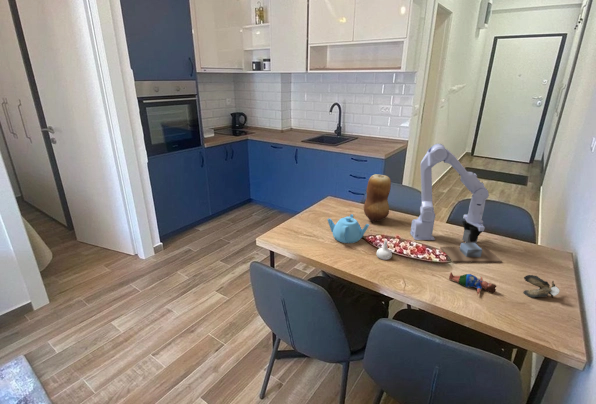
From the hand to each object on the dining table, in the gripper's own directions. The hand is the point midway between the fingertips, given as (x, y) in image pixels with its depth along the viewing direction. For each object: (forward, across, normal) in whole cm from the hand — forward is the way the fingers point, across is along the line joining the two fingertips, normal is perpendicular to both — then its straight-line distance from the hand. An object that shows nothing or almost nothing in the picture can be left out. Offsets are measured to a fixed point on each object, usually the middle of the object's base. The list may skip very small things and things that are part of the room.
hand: (469, 238), depth 146 cm
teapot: (+2, +5, +56) cm, 56 cm away
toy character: (+2, -34, +16) cm, 38 cm away
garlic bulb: (+2, -13, +43) cm, 45 cm away
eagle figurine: (+2, -39, -5) cm, 39 cm away
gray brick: (+1, 0, 0) cm, 1 cm away
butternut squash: (+2, +26, +38) cm, 46 cm away
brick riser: (+2, -12, +6) cm, 14 cm away
